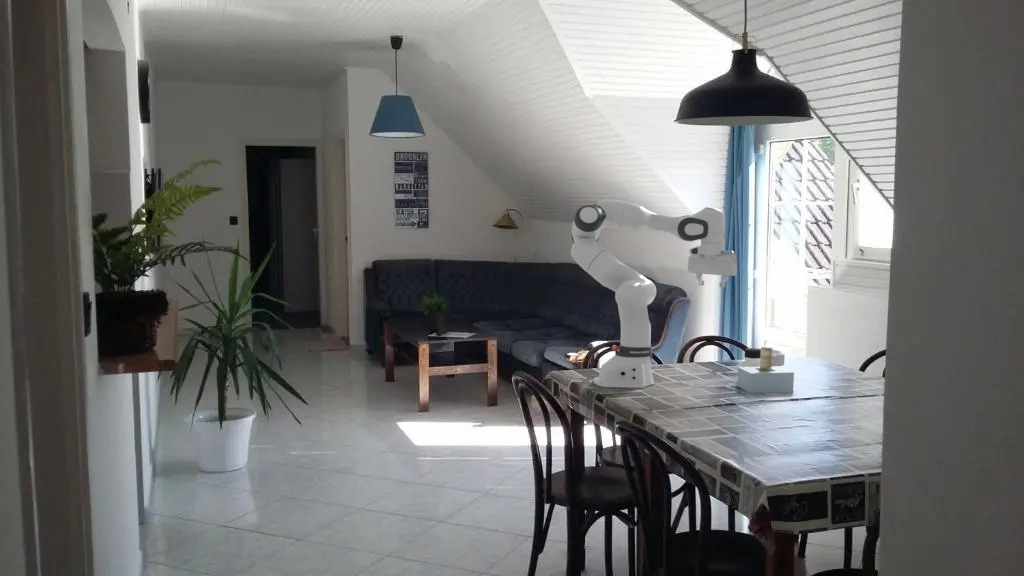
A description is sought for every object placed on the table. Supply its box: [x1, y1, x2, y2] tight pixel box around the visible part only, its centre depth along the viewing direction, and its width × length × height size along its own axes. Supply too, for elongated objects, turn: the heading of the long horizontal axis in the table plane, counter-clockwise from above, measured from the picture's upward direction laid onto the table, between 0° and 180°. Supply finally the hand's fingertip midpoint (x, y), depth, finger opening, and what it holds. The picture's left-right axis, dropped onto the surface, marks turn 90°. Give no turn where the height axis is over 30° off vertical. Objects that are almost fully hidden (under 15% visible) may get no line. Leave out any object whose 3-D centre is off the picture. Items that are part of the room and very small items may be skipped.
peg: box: [760, 346, 773, 371], centre depth 318 cm, size 4×4×14 cm
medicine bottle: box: [740, 347, 761, 367], centre depth 334 cm, size 7×7×12 cm
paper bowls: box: [757, 347, 786, 367], centre depth 352 cm, size 15×15×8 cm
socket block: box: [736, 366, 795, 394], centre depth 319 cm, size 16×12×7 cm
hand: (711, 286), depth 337 cm, fingers open, 8 cm apart
